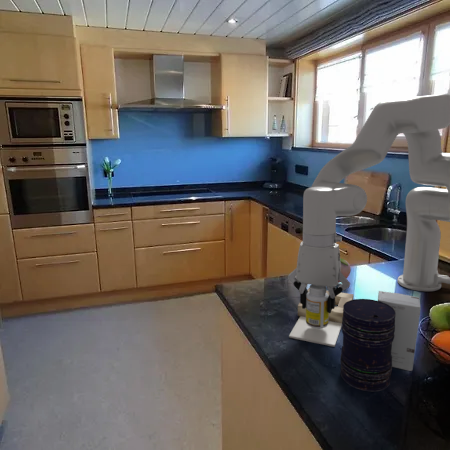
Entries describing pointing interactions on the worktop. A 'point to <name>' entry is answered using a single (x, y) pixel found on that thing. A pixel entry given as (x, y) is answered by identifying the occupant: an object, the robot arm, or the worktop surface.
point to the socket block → (336, 312)
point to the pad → (316, 332)
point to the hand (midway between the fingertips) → (317, 307)
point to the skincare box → (403, 327)
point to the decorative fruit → (345, 268)
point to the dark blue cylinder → (367, 344)
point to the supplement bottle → (317, 307)
